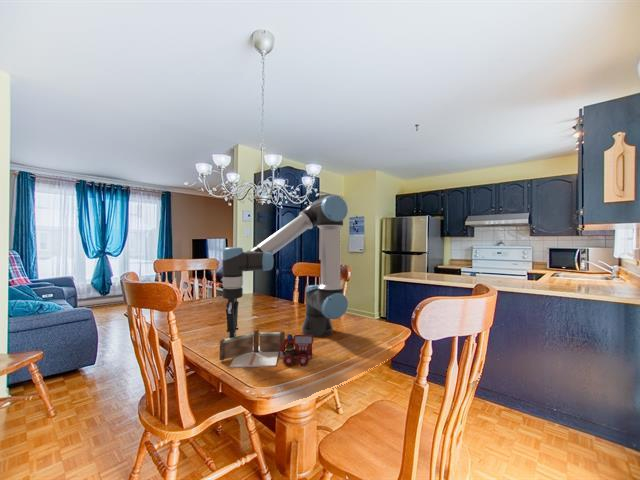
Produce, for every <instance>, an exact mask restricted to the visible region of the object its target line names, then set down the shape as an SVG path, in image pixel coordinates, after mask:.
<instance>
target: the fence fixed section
mask: <svg viewBox="0 0 640 480" xmlns="http://www.w3.org/2000/svg"><path fill="white" fill-rule="evenodd" d="M252 334H253V352H258V351H259V346H260V351H279V350H280V348H281V346H282V344H283V342H284V340H285V339H286V338H285V337H286V335H285V331H282V330H281V331H277V332H276V331H275V332H273V331H268V332H267V331H266V332H264V331H262V332H260V333H259V328H255V329H253V333H252Z"/></svg>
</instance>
